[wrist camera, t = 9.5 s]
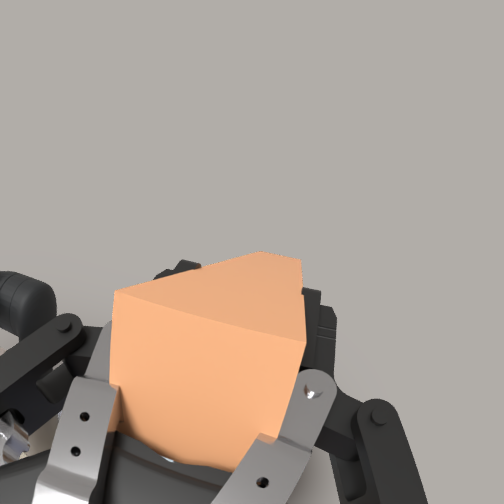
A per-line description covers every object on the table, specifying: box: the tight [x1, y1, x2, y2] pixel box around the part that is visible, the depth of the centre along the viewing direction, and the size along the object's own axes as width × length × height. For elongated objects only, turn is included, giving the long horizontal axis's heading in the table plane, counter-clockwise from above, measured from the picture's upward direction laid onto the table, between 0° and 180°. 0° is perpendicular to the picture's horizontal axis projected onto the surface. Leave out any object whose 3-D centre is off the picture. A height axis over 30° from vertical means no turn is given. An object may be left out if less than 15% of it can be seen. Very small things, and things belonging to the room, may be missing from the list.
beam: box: [109, 251, 306, 485], centre depth 18 cm, size 24×4×4 cm, turn 171°
